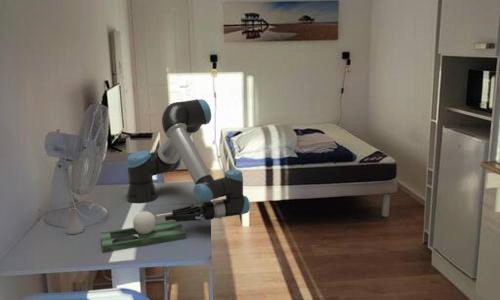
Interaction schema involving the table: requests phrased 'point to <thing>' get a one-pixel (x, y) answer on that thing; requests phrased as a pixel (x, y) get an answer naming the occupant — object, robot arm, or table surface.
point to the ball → (144, 222)
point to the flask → (74, 223)
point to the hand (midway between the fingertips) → (156, 218)
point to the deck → (142, 236)
